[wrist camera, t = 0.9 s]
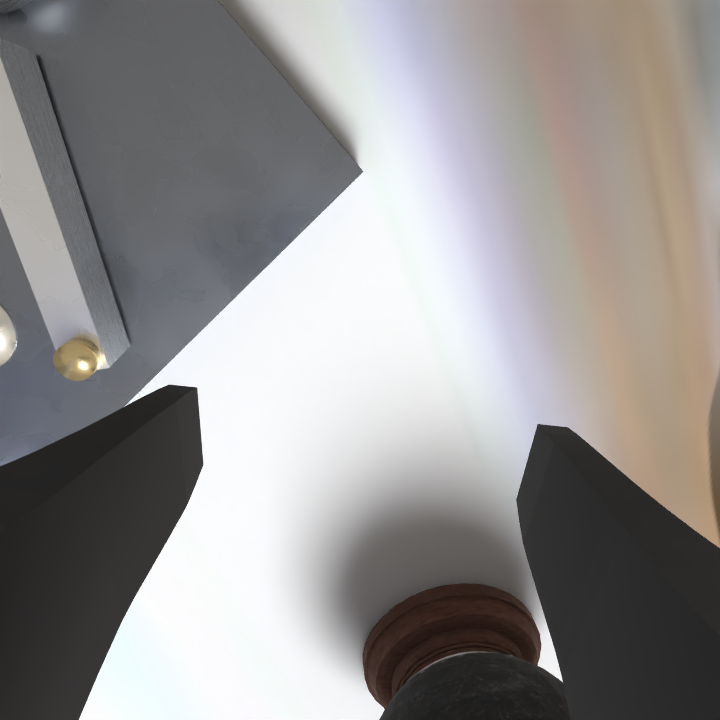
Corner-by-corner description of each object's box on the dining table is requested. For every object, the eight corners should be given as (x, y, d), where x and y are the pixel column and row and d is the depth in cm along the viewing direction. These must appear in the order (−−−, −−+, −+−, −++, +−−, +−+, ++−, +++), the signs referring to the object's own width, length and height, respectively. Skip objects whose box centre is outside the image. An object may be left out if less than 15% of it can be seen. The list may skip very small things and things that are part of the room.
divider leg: (-15, 57, 17) (-79, 37, 14) (34, 51, 17) (-20, 29, 14) (91, 353, 21) (58, 384, 18) (130, 348, 21) (103, 376, 18)
